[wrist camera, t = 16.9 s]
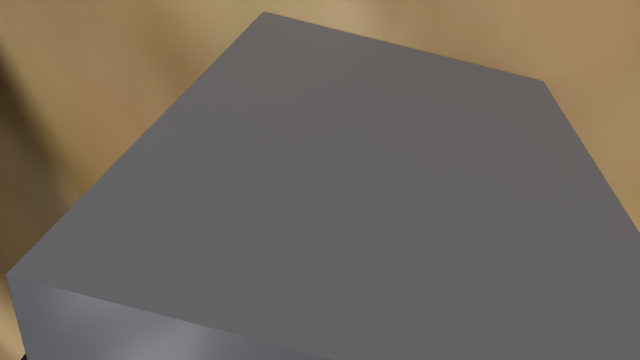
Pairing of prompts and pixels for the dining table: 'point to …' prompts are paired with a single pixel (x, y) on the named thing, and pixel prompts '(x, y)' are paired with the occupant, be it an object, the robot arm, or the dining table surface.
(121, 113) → the dining table surface
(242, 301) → the rectangular block
